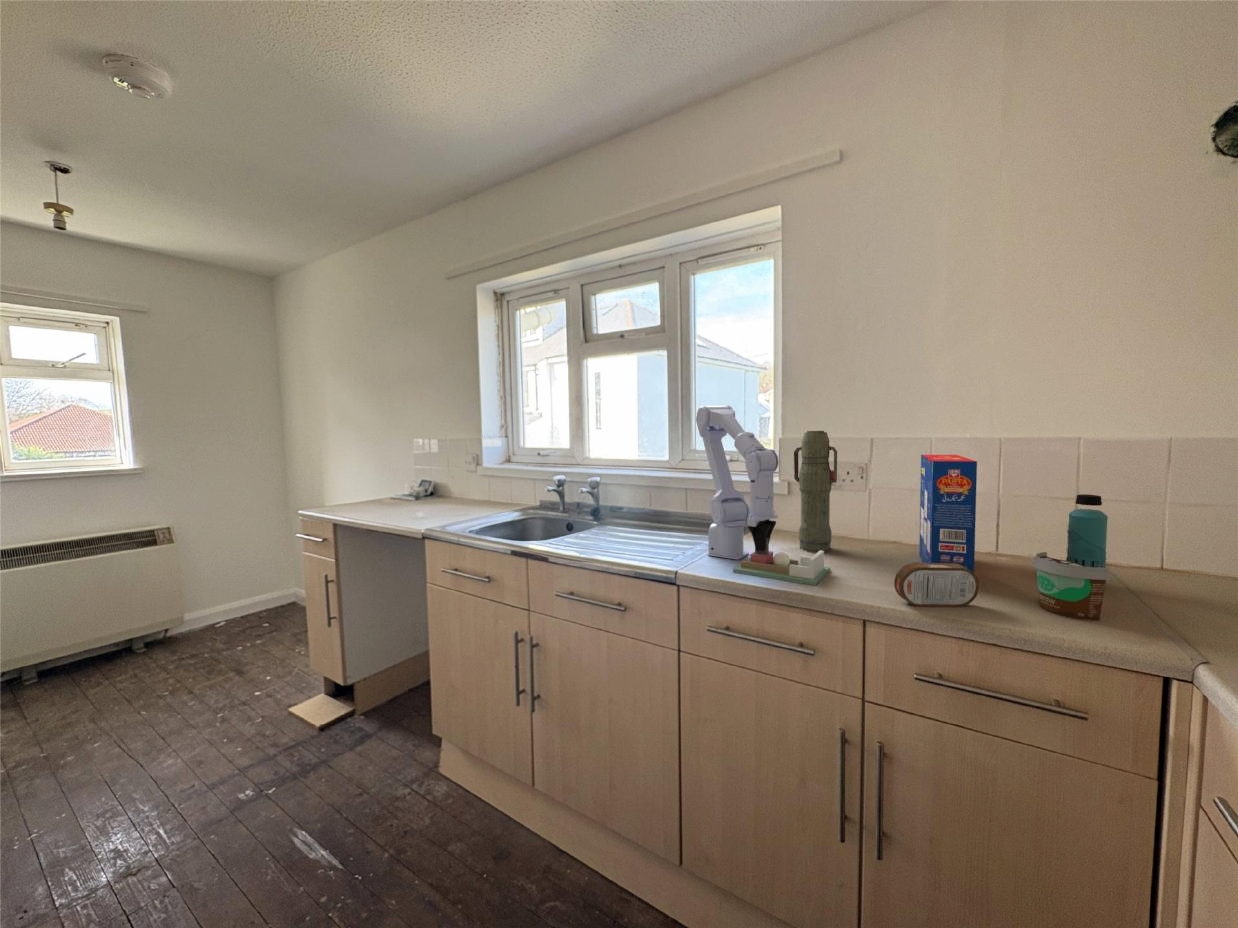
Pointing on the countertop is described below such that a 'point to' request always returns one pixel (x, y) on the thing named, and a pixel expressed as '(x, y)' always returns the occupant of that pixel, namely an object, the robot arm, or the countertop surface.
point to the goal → (808, 566)
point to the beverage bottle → (1087, 533)
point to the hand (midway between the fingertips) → (761, 549)
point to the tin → (936, 584)
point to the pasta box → (948, 510)
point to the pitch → (776, 571)
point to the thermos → (815, 490)
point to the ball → (781, 559)
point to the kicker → (762, 555)
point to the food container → (1070, 587)
